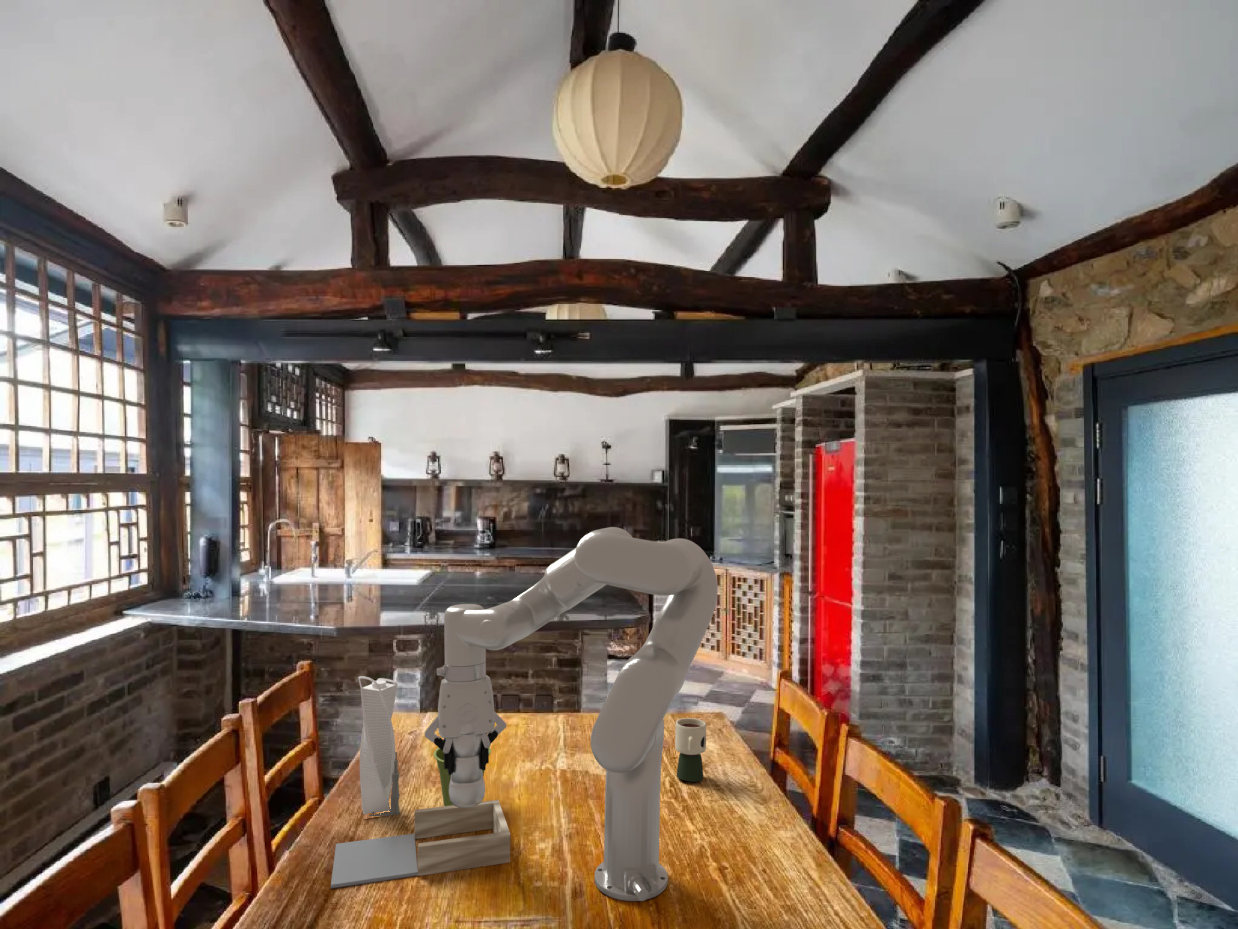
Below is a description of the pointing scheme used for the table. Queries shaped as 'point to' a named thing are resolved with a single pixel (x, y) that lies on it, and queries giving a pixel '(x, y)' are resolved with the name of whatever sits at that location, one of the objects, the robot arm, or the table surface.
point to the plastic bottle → (466, 769)
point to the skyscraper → (378, 749)
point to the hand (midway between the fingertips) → (466, 769)
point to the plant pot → (445, 775)
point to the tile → (374, 860)
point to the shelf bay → (462, 849)
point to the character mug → (690, 748)
